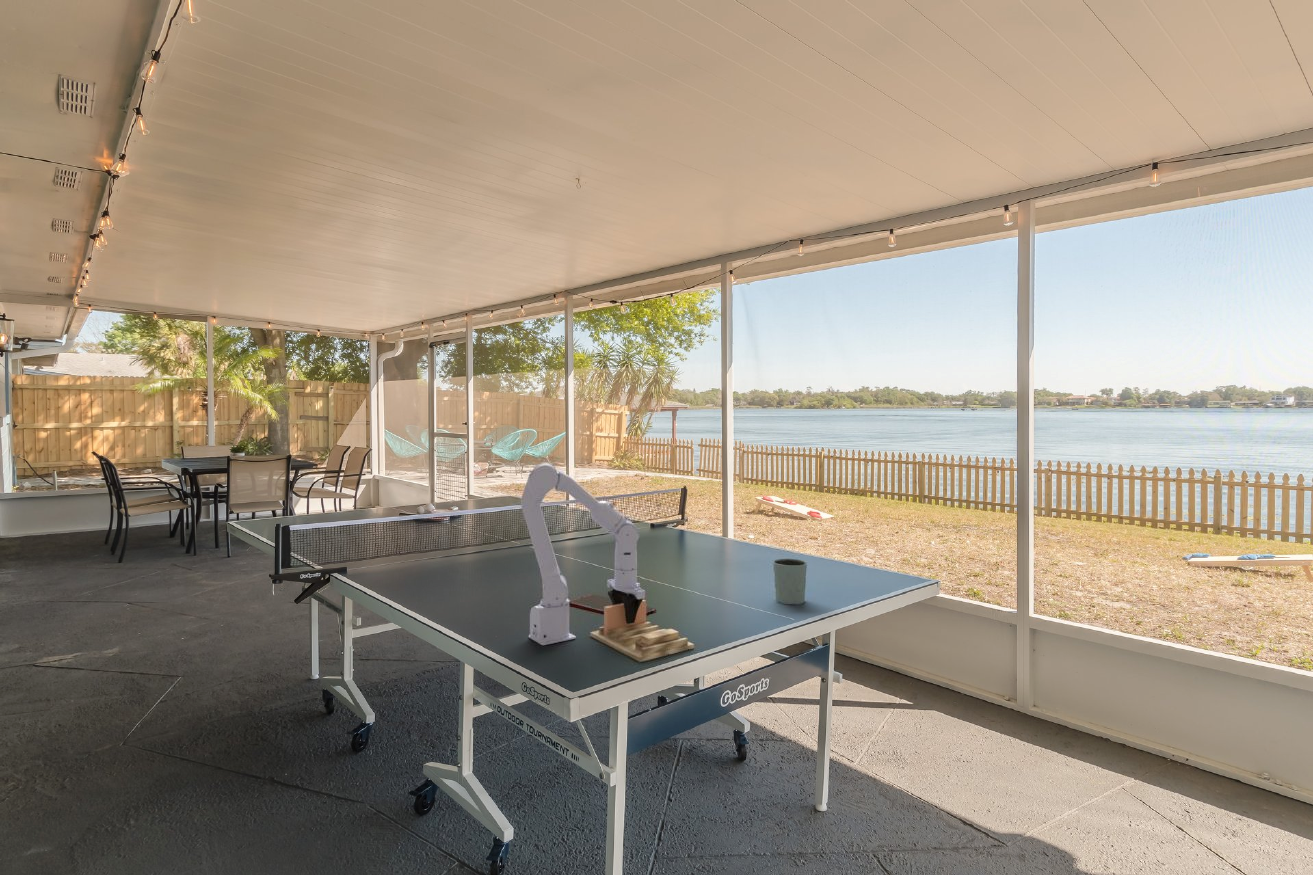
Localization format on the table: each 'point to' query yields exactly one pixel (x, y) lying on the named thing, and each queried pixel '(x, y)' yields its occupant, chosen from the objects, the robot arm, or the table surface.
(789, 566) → the green cup
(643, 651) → the rack
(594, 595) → the dark red board
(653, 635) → the offcut upper
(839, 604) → the table surface
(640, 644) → the offcut lower
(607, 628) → the upright wooden plank
